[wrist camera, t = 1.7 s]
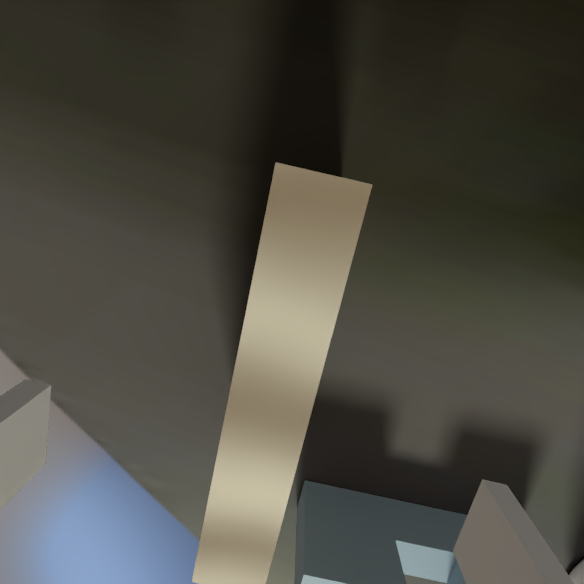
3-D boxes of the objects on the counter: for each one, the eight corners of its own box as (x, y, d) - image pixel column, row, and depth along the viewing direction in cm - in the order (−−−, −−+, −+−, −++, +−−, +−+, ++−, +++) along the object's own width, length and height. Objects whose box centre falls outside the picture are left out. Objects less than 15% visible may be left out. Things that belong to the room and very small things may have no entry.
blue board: (297, 507, 28) (293, 608, 22) (304, 480, 28) (303, 574, 21) (507, 552, 29) (569, 665, 22) (520, 526, 28) (587, 634, 21)
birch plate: (290, 173, 22) (275, 162, 12) (341, 185, 22) (372, 184, 12) (237, 425, 27) (191, 581, 16) (280, 434, 27) (262, 596, 16)
